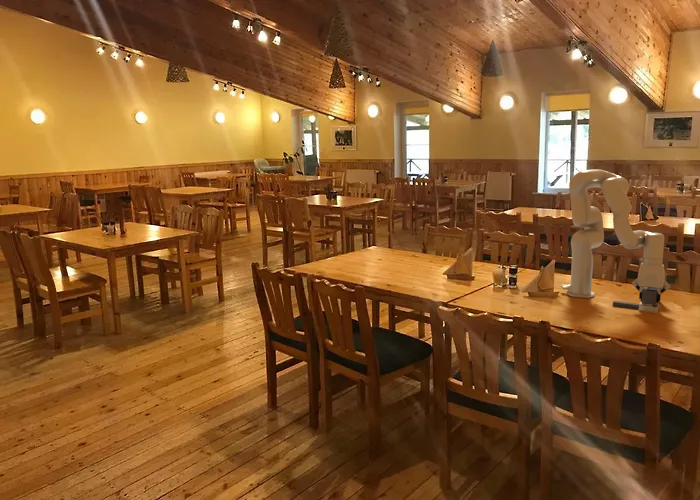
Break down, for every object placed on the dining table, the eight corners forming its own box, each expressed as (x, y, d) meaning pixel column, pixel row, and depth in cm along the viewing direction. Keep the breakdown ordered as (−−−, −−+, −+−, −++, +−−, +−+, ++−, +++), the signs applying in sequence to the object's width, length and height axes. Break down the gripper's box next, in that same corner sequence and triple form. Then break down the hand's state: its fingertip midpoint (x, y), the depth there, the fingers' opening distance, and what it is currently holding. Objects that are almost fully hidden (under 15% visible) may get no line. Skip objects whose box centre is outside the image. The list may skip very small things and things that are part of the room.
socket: (641, 303, 258) (642, 290, 257) (643, 300, 262) (644, 287, 261) (655, 305, 255) (656, 291, 254) (657, 302, 259) (658, 288, 258)
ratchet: (611, 306, 264) (612, 292, 263) (614, 303, 270) (615, 289, 269) (657, 313, 254) (658, 298, 253) (658, 308, 260) (660, 294, 259)
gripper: (629, 260, 257) (626, 301, 260) (674, 264, 248) (670, 306, 251) (632, 257, 263) (629, 297, 266) (675, 261, 254) (672, 302, 257)
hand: (649, 301), depth 259 cm, fingers closed on socket, 5 cm apart
